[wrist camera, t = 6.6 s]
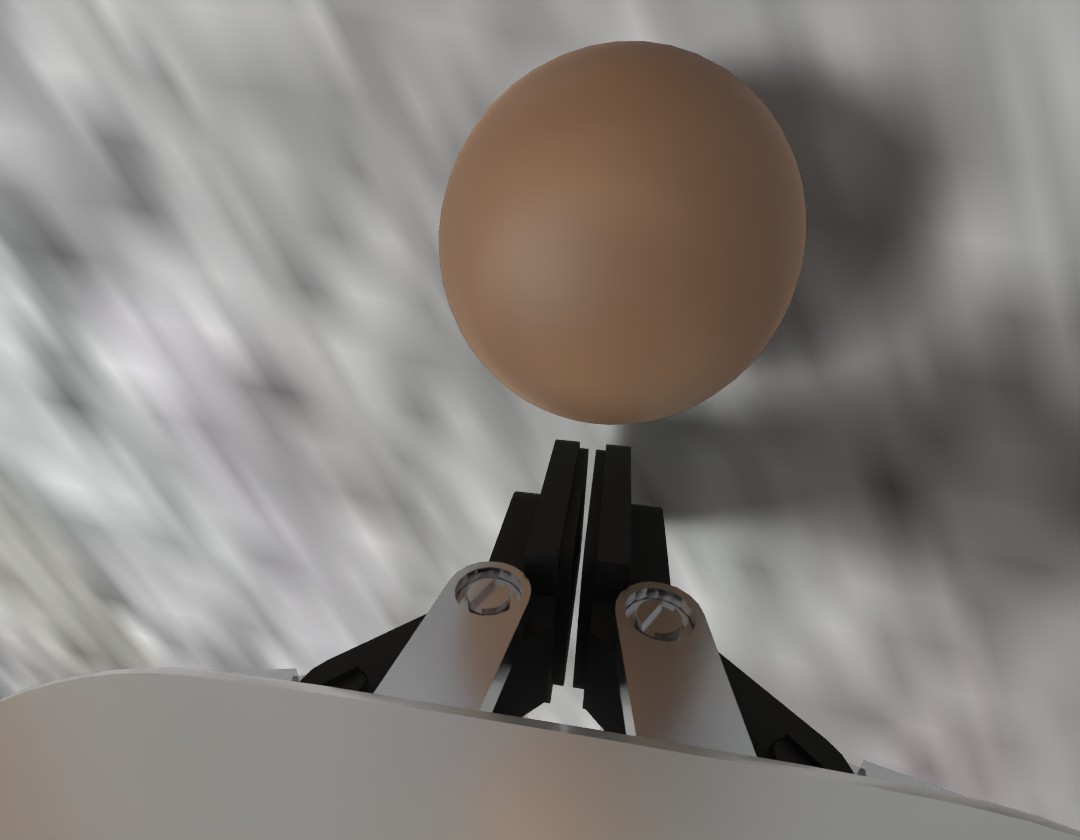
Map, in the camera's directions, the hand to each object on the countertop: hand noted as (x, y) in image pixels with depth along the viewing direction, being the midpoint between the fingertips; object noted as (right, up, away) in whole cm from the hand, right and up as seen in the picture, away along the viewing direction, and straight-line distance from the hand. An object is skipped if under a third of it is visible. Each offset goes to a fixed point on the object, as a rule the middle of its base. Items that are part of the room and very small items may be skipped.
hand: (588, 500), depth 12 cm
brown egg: (0, +4, -3) cm, 6 cm away
